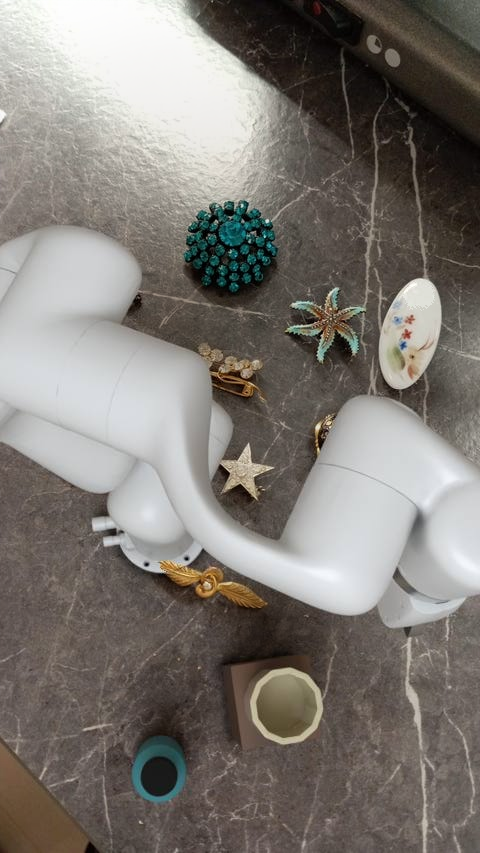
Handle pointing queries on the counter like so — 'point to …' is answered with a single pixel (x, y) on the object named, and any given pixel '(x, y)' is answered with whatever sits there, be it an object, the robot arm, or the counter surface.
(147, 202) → the counter surface
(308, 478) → the robot arm
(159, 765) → the beverage bottle
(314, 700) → the cream cup
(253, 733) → the stand
